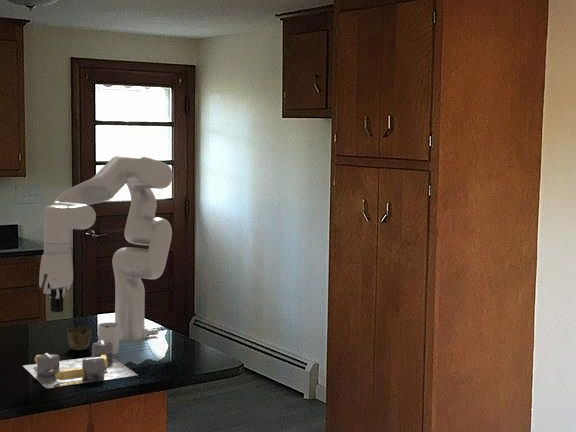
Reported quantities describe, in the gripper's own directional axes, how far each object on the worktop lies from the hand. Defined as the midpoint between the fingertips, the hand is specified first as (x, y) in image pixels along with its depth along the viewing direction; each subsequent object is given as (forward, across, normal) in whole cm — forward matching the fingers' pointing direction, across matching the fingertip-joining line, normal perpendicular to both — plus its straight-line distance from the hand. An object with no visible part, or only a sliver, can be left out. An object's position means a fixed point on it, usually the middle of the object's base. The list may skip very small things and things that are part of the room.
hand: (57, 311), depth 237 cm
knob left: (+16, +8, +15) cm, 23 cm away
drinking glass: (+17, -18, +5) cm, 26 cm away
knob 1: (+16, +7, +1) cm, 17 cm away
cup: (+17, -17, -5) cm, 25 cm away
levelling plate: (+17, +1, +9) cm, 20 cm away
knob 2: (+16, -7, +11) cm, 21 cm away
